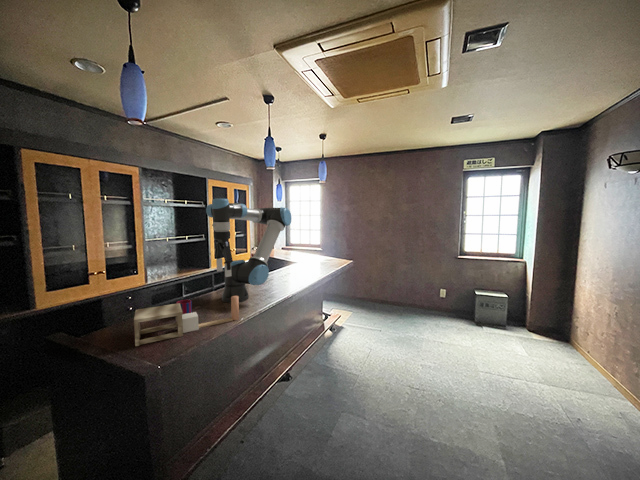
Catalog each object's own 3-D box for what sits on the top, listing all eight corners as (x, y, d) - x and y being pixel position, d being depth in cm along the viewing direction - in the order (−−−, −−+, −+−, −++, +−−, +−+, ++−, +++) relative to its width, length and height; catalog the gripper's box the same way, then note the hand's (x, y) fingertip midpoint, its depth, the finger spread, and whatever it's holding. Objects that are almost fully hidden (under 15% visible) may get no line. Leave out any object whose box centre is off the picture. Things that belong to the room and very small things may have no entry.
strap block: (237, 316, 125) (236, 294, 124) (240, 320, 120) (240, 297, 119) (181, 327, 112) (180, 303, 111) (183, 333, 107) (182, 307, 106)
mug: (194, 313, 128) (194, 300, 128) (177, 321, 119) (176, 307, 118) (185, 311, 131) (184, 298, 130) (167, 318, 122) (166, 305, 121)
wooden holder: (180, 325, 115) (179, 303, 114) (183, 335, 104) (182, 311, 103) (137, 333, 106) (135, 309, 105) (135, 346, 95) (133, 320, 95)
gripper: (206, 229, 131) (209, 270, 133) (221, 233, 111) (224, 280, 113) (221, 229, 135) (223, 268, 138) (238, 232, 115) (240, 277, 118)
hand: (224, 273), depth 125 cm, fingers open, 13 cm apart
